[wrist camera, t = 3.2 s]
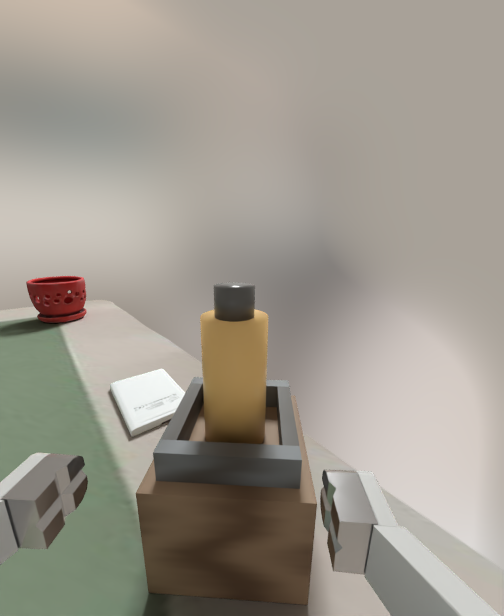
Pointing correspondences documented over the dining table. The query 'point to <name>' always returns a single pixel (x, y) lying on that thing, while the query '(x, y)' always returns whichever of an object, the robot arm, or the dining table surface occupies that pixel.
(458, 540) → the dining table surface
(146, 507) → the walnut stand
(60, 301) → the plant pot
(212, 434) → the yellow bottle
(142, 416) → the external hard drive
